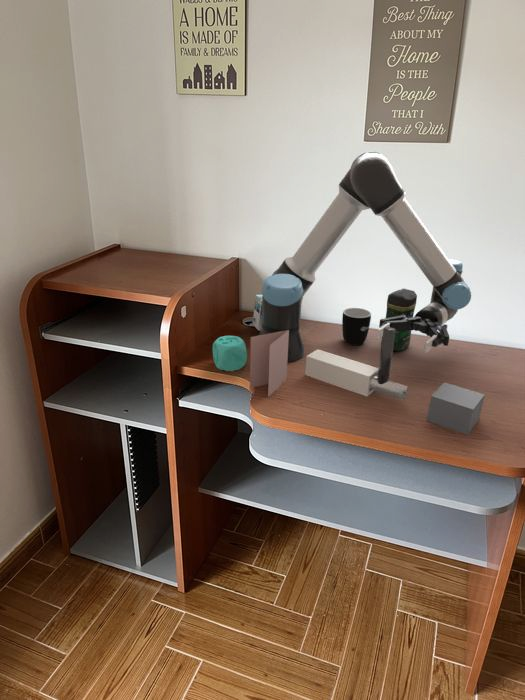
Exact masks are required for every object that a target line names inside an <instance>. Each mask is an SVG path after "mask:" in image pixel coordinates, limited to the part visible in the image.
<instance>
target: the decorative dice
mask: <svg viewBox="0 0 525 700" xmlns="http://www.w3.org/2000/svg"><path fill="white" fill-rule="evenodd" d="M246 346H247V345H246V343H245V341H244V339H242V338H241V337H240V336H236V335H224V336H219V337H218V338H217V339H216V340H214V342H213V343H212V357H213V361H214V365H215V367H216V368H217V369H218V370H220V371H222V370H225V371H224V372H228V371H231V372H234V371H233V370H237V371H239V370H241V369H242V368H243V367H245V365H246V364H247V358H248V351H247V348H246Z"/></svg>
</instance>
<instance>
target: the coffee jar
mask: <svg viewBox="0 0 525 700" xmlns="http://www.w3.org/2000/svg"><path fill="white" fill-rule="evenodd" d="M417 298H418V295H417V293H416V292H415V290H411V289H407V288H405V287H404V288H401V289H397V290H395V291H392V292H391V293H389V294H388V295H387V300H386V312H385V318H390V317H396V316H400V315H402V314H405V315H406V318H412V317H414V316H415V315H414V313H415V310H416V305H417ZM410 327H411V326H410ZM411 337H412V330H411V331H407V330H406V329H402V330H396V331H395V338H394V346H393V351H397V352H400V351H404V350H405V349H407V348H408V347H409V345H410V343H411ZM380 342H381V343H380V346H381V345H382V339H381V340H380Z"/></svg>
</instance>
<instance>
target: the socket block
mask: <svg viewBox="0 0 525 700" xmlns="http://www.w3.org/2000/svg"><path fill="white" fill-rule="evenodd" d="M484 399H485V394H484V393H480V392H477V391H475V390H474V391H473V390H471V389H468V388H464V387H461V386H458V385H454V384H451V383H449V382H448V383H447V382H443V383H442V384H441V385H440V386H439V387H438V388H437V389H436V390H435V391H434V392H433V394H432V395H431V396H430V401H429V407H428V412H427V418H426V421H427V422H430V423H432V424H435V425H438V426H441V427H443V428H446V429H450V430H452V431H455V432H458V433H461V434H462V435H463V434H464V435H467V436H468V435H469V434H470V433H471V431H472V429H473V428H474V427H475V426H476V424H477V423H478V422H479V420H480V416H481V412H482V409H483V403H484Z"/></svg>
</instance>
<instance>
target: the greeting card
mask: <svg viewBox="0 0 525 700" xmlns="http://www.w3.org/2000/svg"><path fill="white" fill-rule="evenodd" d="M288 340H289V330H286V331H281V332H275V333H270V334H264V335H259V334H258V335H255V336H254V335H253V336H251V337H250V354H249V355H250V363H249V365H250V366H249V367H250V369H249V388H250V389H252V388H256V387H255V386H257V387H260V386H259V385H261V386H264V384H265V385H267V386H268V389H267V397H268V398H269V397H270V396H271V395H272V394H273V393H274V392H275V391H276V390H277V389H278V388H279V387H281V385H283V384H284V383H285V382H286V381H287V380H288V379H287V378H288V362H287V360H288ZM285 380H286V381H285ZM284 381H285V382H284ZM283 382H284V383H283ZM282 383H283V384H282Z"/></svg>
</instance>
